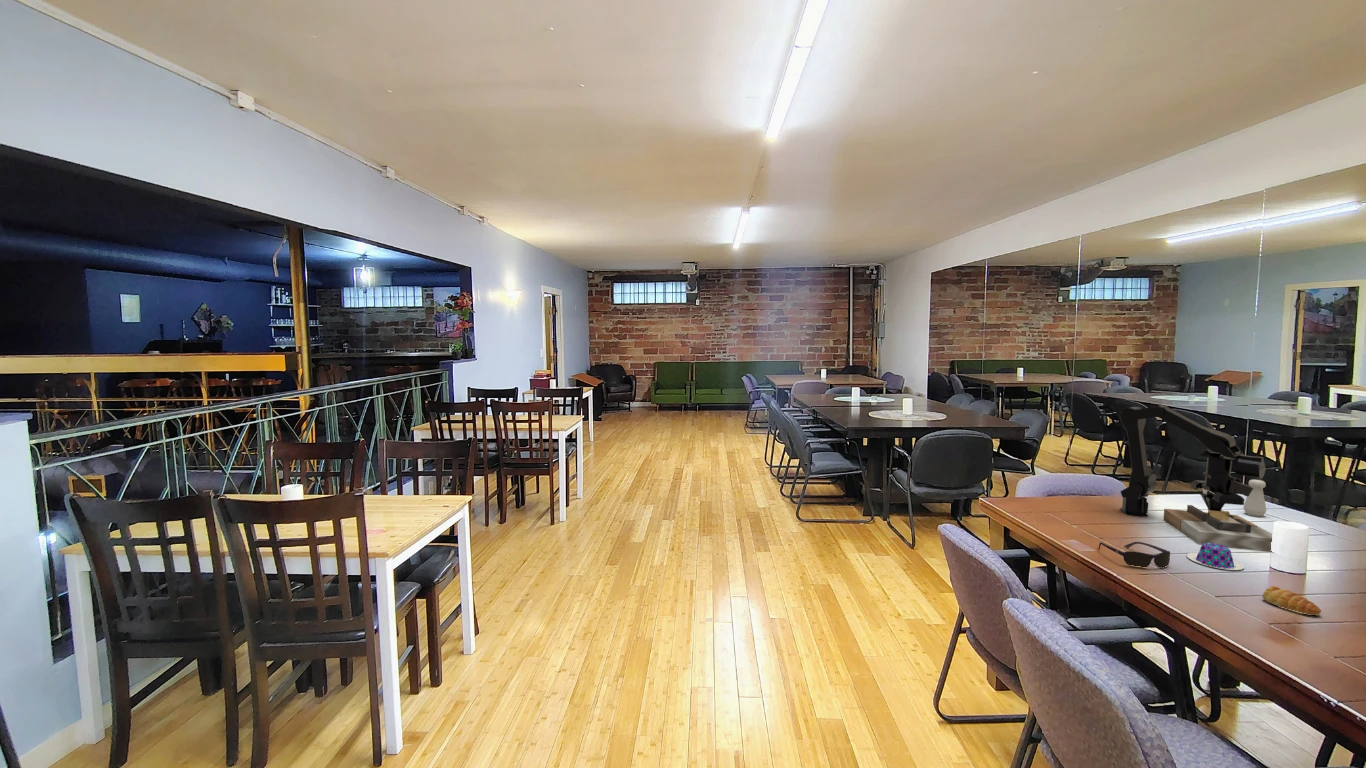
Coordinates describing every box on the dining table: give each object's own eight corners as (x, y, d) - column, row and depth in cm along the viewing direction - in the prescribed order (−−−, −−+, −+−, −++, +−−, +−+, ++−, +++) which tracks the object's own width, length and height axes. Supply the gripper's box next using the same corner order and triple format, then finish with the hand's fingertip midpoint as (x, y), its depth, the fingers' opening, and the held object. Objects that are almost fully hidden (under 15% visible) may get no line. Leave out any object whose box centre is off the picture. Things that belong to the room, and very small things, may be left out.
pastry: (1328, 616, 128) (1329, 600, 128) (1308, 620, 126) (1309, 604, 126) (1277, 597, 137) (1278, 583, 137) (1257, 601, 136) (1259, 586, 135)
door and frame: (1199, 543, 171) (1200, 524, 171) (1163, 519, 194) (1164, 501, 193) (1282, 552, 164) (1284, 531, 164) (1235, 526, 186) (1237, 507, 186)
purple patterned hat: (1175, 557, 162) (1177, 540, 162) (1206, 553, 165) (1208, 536, 164) (1222, 574, 151) (1224, 556, 150) (1255, 570, 153) (1257, 552, 153)
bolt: (1220, 527, 173) (1221, 517, 173) (1207, 519, 181) (1208, 509, 180) (1241, 529, 172) (1242, 518, 171) (1226, 521, 179) (1227, 511, 179)
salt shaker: (1270, 517, 195) (1274, 482, 193) (1254, 517, 195) (1257, 482, 194) (1254, 512, 201) (1257, 478, 199) (1238, 512, 201) (1241, 478, 199)
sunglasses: (1129, 570, 154) (1130, 553, 153) (1088, 548, 169) (1089, 533, 169) (1177, 569, 154) (1178, 553, 153) (1131, 548, 169) (1132, 532, 169)
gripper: (1268, 481, 168) (1263, 529, 170) (1233, 466, 186) (1229, 510, 187) (1222, 478, 172) (1217, 525, 174) (1192, 464, 190) (1188, 507, 191)
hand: (1214, 516), depth 181 cm, fingers closed
